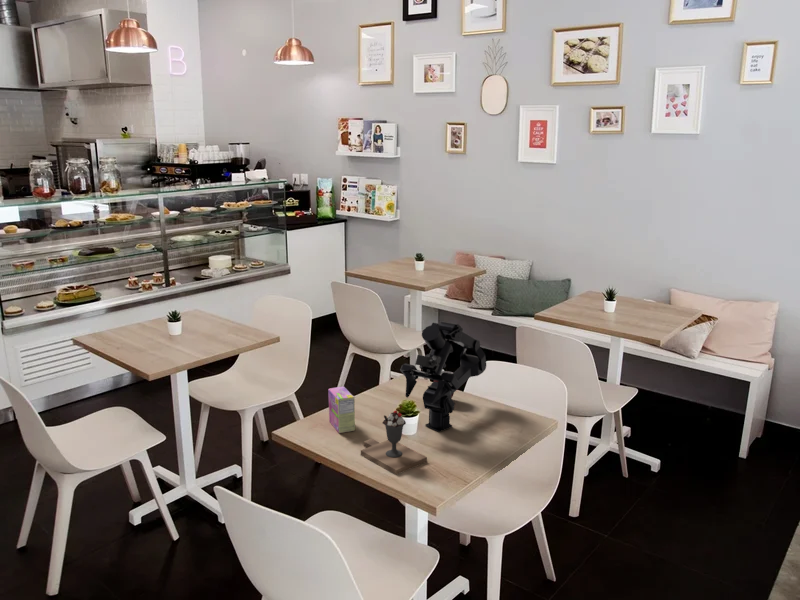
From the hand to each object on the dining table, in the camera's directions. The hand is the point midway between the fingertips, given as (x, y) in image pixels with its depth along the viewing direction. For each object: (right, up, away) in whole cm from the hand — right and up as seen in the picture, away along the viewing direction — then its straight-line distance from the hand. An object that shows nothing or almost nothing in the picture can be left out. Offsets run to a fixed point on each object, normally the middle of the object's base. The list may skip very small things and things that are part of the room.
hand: (419, 400), depth 205 cm
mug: (+9, -6, +34) cm, 36 cm away
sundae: (-8, -15, -9) cm, 19 cm away
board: (-9, -15, -7) cm, 19 cm away
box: (-25, -11, +13) cm, 30 cm away
